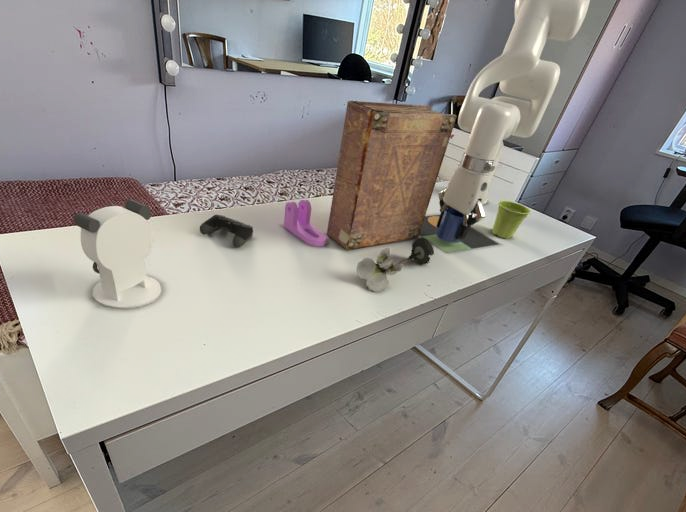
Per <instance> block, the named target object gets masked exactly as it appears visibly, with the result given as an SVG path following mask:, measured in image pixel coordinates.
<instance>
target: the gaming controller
mask: <svg viewBox="0 0 686 512" xmlns="http://www.w3.org/2000/svg"><path fill="white" fill-rule="evenodd" d="M198 228H199V232H200V234H202V235H204V236H205V235H206V236H207V235H211V234H212V233H215V232H217V231H219V230H221V231H224V232H227V233H230V234H231V235H232V234H233V235H234V236H233V238H232V245H233V246H234V247H235V248H241V247H242V246H244V245H245V244H246V243H247V242H248V240H250V239H252V238H253V236H254V227H253V226H252V225H250V224H246V223H244V222H241V221H239V220H236V219H233V218H231V217H230V218H229V217H227V216H225V215H222V214H214V215H213V216H211V217H210V218H208V219H206V220H205V221H203V222H202V223H201V224H200V225H199V227H198Z"/></svg>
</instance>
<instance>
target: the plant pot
mask: <svg viewBox="0 0 686 512" xmlns="http://www.w3.org/2000/svg"><path fill="white" fill-rule="evenodd" d="M531 213H532V211H531V209H530V208H528V207H527V206H525V205H523V204H521V203H518V202H515V201H511V200H500V201H498V207H497V212H496V217H495V220H494V223H493V226H492V229H491V233H492V234H493V235H496V236H497V237H499V238H500V239H501V238H502V239H506V240H507V239H512V238H513V236H514V234H515V233H516V231H517V230H518V228H519V227H520V225H521V224H522V222H523V221H524V219H526V218H527V217H528V215H530V214H531Z"/></svg>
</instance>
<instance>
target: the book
mask: <svg viewBox="0 0 686 512" xmlns="http://www.w3.org/2000/svg"><path fill="white" fill-rule="evenodd" d="M346 103H347V105H346V110H345V116H344V123H343V129H342V134H341V135H342V136H341V140H340V141H341V142H340V147H339V154H338V159H337V160H338V161H337V166H336V174H335V179H334V186H333V191H332V198H331V204H330V210H329V218H328V223H327V229H326V230H327V231H326V236H327V237H329V238H331V239H332V240H333V241H334V242H336V243H337V244H339V245H340V246H341V247H343V248H344V249H345V250H346V251H352V250H357V249H362V248H368V247H369V248H370V247H375V246H380V245H387V244H393V243H399V242H405V241H410V240H416V239H418V238H420V237H419V236H420V235H419V234H420V230H421V227H422V224H423V221H424V218H425V216H427V212H428V208H429V205H430V203H431V199H432V196H433V193H434V189H435V186H436V182H437V180H438V177H439V174H440V171H441V168H442V164H443V162H444V158H445V155H446V151H447V149H448V146H449V142H450V140H451V139H450V138H451V135H452V133H453V129H454V126H455V123H456V121H457V116H458V115H456V114H453V113H452V114H449V113H442V112H439V111H436V110H433V109H430V108H431V106H430V105H425V104H422V105H421V104H411V103H409V104H407V103H392V102H377V101H376V102H375V101H357V100H348V101H347V102H346Z"/></svg>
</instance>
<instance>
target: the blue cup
mask: <svg viewBox="0 0 686 512" xmlns="http://www.w3.org/2000/svg"><path fill="white" fill-rule="evenodd" d="M468 220H469V215H468ZM462 224H463V214H462V213H461V212H459V211H457V210H455V209H453V208H446V209H445V210H444V213H443V216H442V219H441V222H440V225H439V228H438V230H437V234H436V235H437V237H438V238H440V239H441V240H444V241H446V242H451V243H458V242H460V241H461V239H459V240H457V239H456V235H457V233H458V230H459V228H460V225H462Z"/></svg>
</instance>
